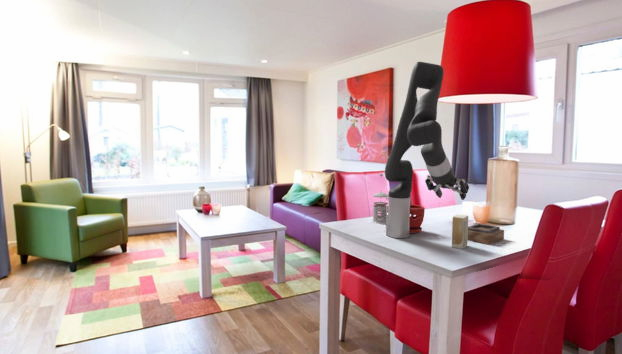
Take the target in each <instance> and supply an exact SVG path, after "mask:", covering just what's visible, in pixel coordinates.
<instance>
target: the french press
mask: <svg viewBox="0 0 622 354" xmlns="http://www.w3.org/2000/svg"><path fill="white" fill-rule="evenodd" d="M383 176H384V174H383V173H379V177H383ZM372 196H373V197H374V198H385V199H387V200H388V199H389V193H386V192H382V191H379V192H375V193H374V194H373V195H372ZM373 203H374V205H372V207H373V208H372V219H371V221H373V222H376V223H375V224H379V223H385V224H386V214H387V213H388V202H386V201H376V202H373ZM373 222H372V223H373Z"/></svg>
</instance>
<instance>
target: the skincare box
mask: <svg viewBox="0 0 622 354" xmlns="http://www.w3.org/2000/svg"><path fill="white" fill-rule="evenodd" d="M451 227H452V231H451V232H452V233H451V248H456V249H459V250H460V249H462V250H463V249H465V248H466V247H467V246H468V241H469V240H468V227H469V215H467V214H466V215H465V214H456V215H453V217H452V226H451Z"/></svg>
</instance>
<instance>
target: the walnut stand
mask: <svg viewBox="0 0 622 354" xmlns="http://www.w3.org/2000/svg"><path fill="white" fill-rule="evenodd" d="M503 240H505V230H504V229H501V228H500V226H496V225H491V224H490V225H489V224H483V223H476V224H473V225H470V226H469V225H468V241H470V242H475V243H478V244H479V243H480V244H485V245H490V246H491V245H493V244H495V243H498V242H501V241H503Z"/></svg>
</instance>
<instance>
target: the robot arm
mask: <svg viewBox="0 0 622 354" xmlns="http://www.w3.org/2000/svg"><path fill="white" fill-rule="evenodd" d="M444 74H445V73H444V67H443V66H442V65H440V64H437V63H436V64H435V63H430V62H425V61H417V62H416V63H414V65H413V67H412V72H411V75H410V79H409V84H408V88H407V94H406V98H405V103H404V106H403V109H402V113H401V116H400V119H399V123H398V126H397V130H396V134H395V137H394V138H395V139H394V142H393V145H392V147H391V150H390V154H389V156H388V158H387V162H386V164H385V167H384V177H385V179H386V181H388V182H390V183H391V182H392V183H393V182H398V185H397V186H395V187H393V188H391V189H389V190H388V195H389V197H388V198H389V199H388V198H387V201H388V202H387V203H388V204H387V206H388V213H387V212H386V213H387V214H386V223H385V235H386V236H388V237H391V238H394V239H406V238H410V233H409V229H410V216H411V214H410V205H411V193H412V189H413V174H414V172H413V171H414V170H413V169H414V168H413V165H412V163H411V161H410V160H407V159H406V160H405V159H402V158H403V156H404V154H405V153H406V152H408V150H409V149H410V148H411V147H412V146H413V147H420V146H422V147H420V154H421V157H422V158H423V161H424V162H425V166H426V169H427V171H428V173H429V174H428V175H426V177H425V180H424V182H425V184H426V188H427V190H428V191H433V192H434V193H435V195H436V197H438V198H439V199H441V198H442V197H443V192H442V190H441V188H442V189H448V190H451V191H453V192H456V193H458V194H459V197H460V199H461V200H462V201H463V200H465V199H466V197H467V194H468V192H469V190H470V186H469V184H468V181H467V179H466V178H465V176H462V177H461V178H457V177H456V176H455V173H454V169H453V168H452V165H451V163H450V160H449V158H448V156H447V155H446V153H445V149H444V147H443V141H442V138H443V137H442V134H443V133H442V132H443V130H442V126H441V124H440V123H439V122H438V121H436V120H437V117H438V115H437V114H438V103H439V98H440V95H441V89H442V84H443V80H444ZM417 89H424V90H428V91H427V92H425V93H424V94H423V95H421V96H420V97H419V99H418V94H417V91H418V90H417ZM434 184H435V185H434Z"/></svg>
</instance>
